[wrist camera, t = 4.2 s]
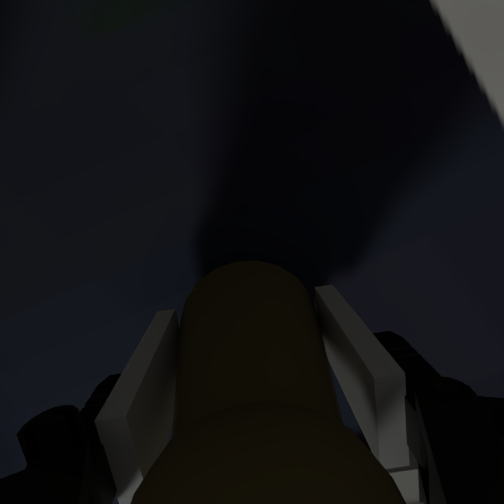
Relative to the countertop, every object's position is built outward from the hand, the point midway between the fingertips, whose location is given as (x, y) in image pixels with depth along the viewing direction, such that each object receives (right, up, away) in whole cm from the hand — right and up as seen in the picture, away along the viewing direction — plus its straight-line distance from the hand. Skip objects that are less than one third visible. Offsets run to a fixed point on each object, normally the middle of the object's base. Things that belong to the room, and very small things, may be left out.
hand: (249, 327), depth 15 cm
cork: (0, 0, +1) cm, 1 cm away
